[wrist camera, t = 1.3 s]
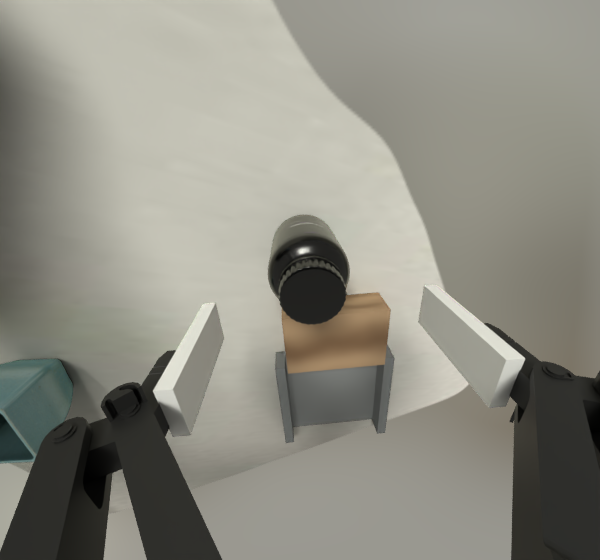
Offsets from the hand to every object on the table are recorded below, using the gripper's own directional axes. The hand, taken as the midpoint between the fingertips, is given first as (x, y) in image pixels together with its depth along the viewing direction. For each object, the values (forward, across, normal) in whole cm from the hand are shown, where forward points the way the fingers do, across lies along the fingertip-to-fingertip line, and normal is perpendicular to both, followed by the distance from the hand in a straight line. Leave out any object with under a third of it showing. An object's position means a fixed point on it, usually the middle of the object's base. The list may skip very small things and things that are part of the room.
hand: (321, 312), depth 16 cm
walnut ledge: (+14, +3, -11) cm, 18 cm away
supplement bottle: (+14, 0, 0) cm, 14 cm away
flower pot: (+14, -35, -15) cm, 41 cm away
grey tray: (+14, +3, -22) cm, 26 cm away
